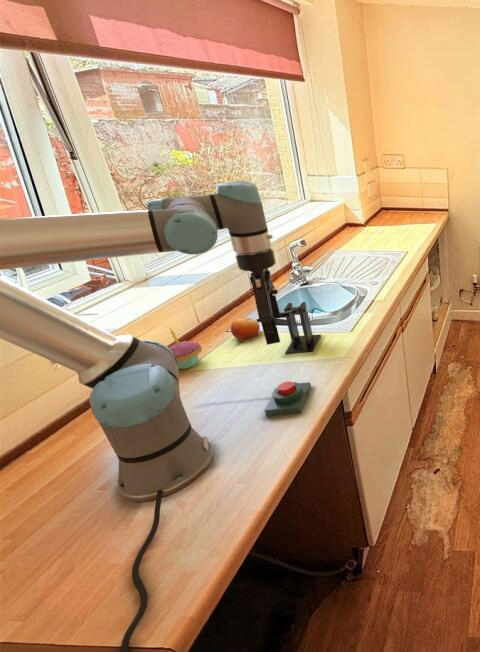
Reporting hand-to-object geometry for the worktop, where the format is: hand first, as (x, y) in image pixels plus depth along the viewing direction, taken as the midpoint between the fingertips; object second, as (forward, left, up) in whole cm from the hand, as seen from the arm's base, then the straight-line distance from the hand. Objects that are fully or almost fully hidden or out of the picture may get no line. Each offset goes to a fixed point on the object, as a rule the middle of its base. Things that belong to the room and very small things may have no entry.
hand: (274, 330), depth 101 cm
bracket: (+23, +2, -19) cm, 30 cm away
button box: (-5, -2, -19) cm, 20 cm away
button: (-5, -2, -15) cm, 16 cm away
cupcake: (+18, +33, -19) cm, 42 cm away
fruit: (+32, +22, -19) cm, 43 cm away
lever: (+17, +2, -5) cm, 18 cm away
